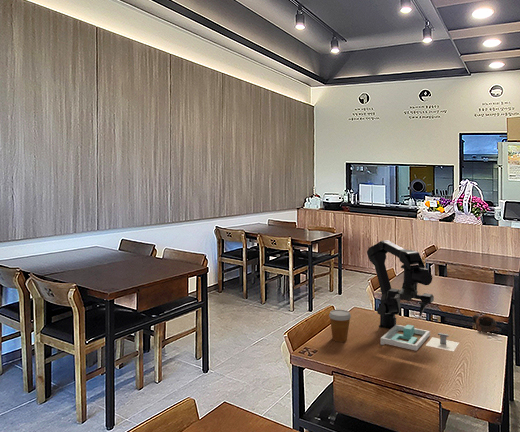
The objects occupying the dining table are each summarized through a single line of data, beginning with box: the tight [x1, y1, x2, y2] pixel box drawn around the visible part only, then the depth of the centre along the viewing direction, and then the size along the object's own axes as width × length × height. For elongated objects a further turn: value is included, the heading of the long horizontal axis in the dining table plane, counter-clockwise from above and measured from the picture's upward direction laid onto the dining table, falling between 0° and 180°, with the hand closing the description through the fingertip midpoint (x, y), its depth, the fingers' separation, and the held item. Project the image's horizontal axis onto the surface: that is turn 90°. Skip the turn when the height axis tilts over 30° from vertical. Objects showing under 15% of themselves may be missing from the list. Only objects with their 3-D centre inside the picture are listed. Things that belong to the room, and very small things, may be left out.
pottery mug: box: [471, 314, 498, 333], centre depth 201 cm, size 12×10×8 cm
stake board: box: [425, 332, 460, 353], centre depth 183 cm, size 11×11×5 cm
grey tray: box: [380, 324, 431, 352], centre depth 189 cm, size 15×20×3 cm
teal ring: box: [391, 324, 418, 344], centre depth 189 cm, size 9×14×4 cm, turn 145°
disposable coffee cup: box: [328, 309, 352, 343], centre depth 192 cm, size 10×10×12 cm
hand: (409, 314), depth 192 cm, fingers open, 9 cm apart
